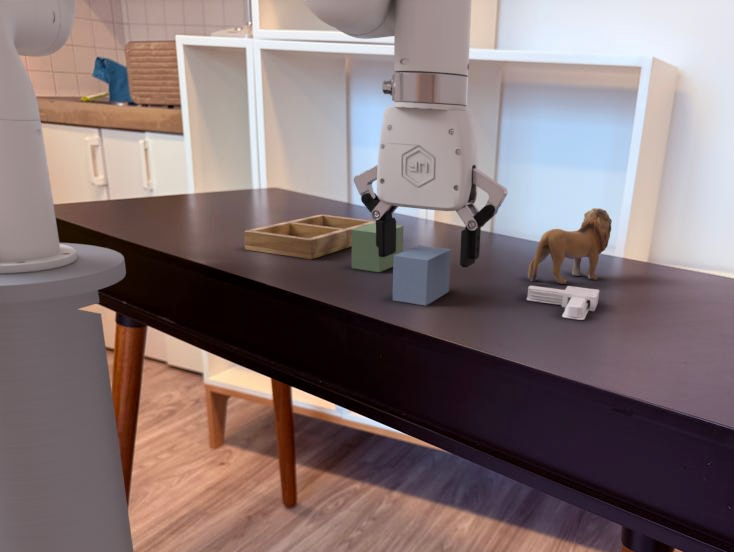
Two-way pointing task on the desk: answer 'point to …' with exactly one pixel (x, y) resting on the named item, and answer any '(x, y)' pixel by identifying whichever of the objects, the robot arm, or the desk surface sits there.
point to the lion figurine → (574, 245)
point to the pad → (372, 249)
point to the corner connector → (567, 299)
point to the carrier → (305, 236)
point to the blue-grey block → (421, 274)
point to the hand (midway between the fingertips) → (426, 259)
